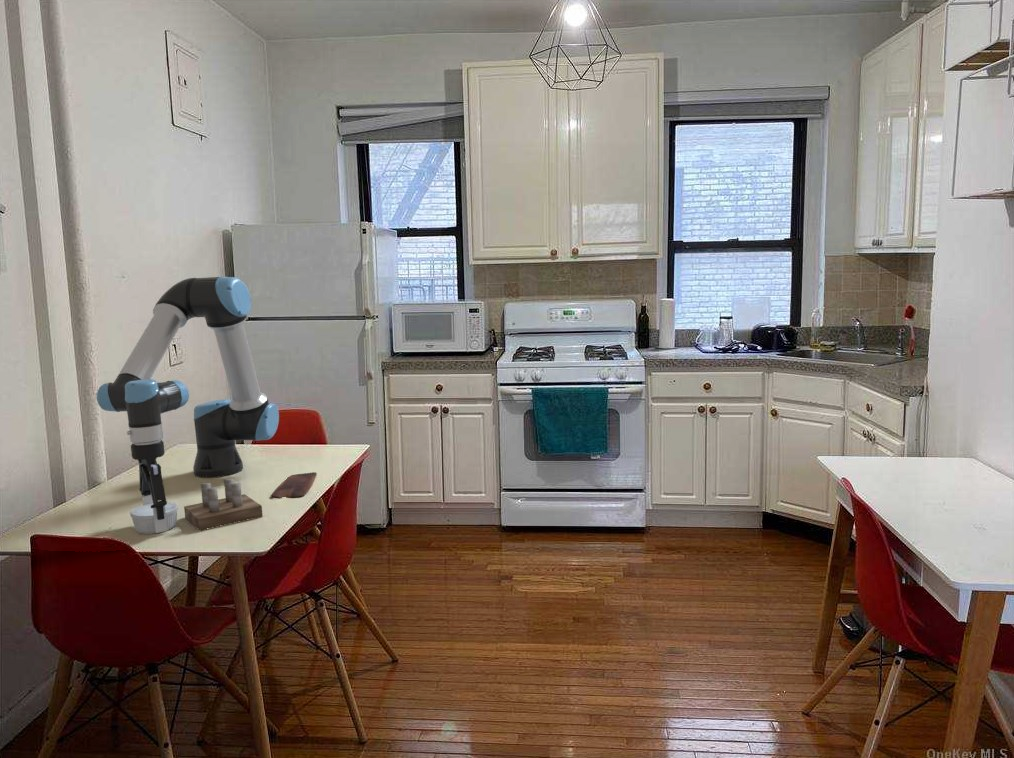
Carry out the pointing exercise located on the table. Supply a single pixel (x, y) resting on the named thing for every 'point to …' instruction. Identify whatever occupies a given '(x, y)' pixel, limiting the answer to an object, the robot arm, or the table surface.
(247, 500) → the peg stand
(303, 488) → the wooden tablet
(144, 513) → the ramekin
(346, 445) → the table surface
